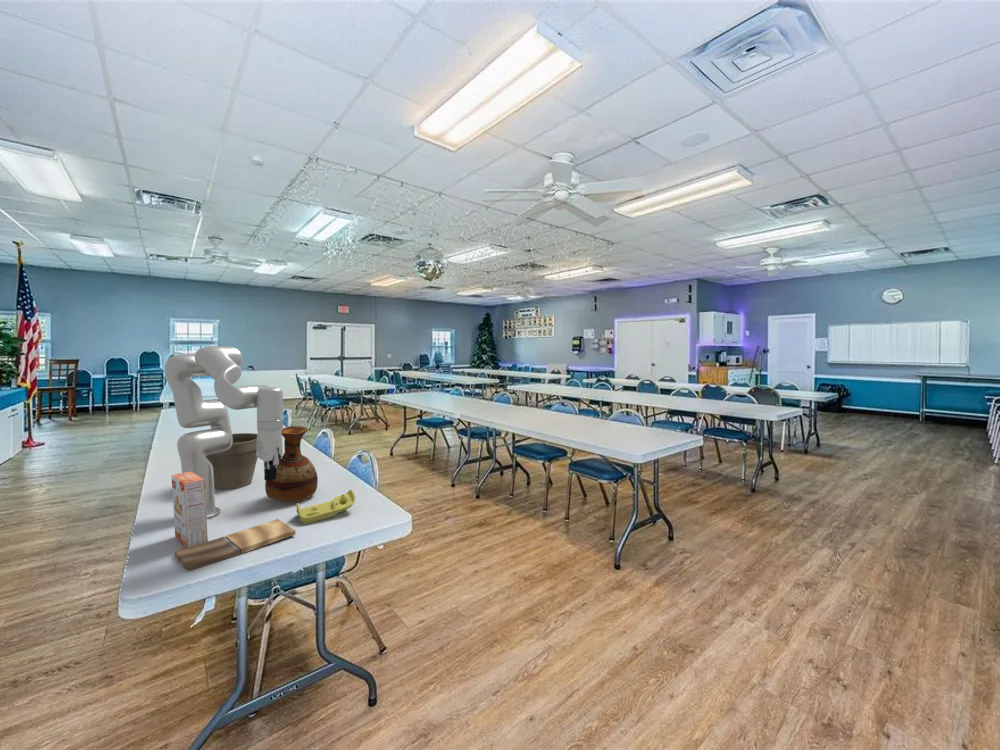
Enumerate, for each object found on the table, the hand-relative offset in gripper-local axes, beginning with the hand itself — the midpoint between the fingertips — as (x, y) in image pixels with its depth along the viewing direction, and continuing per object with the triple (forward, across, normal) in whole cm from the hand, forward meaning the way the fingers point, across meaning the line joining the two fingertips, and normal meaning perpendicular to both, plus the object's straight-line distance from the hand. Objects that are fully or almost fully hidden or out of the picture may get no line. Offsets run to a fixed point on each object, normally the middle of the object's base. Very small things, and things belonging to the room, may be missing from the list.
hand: (270, 479), depth 141 cm
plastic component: (+19, -2, +20) cm, 28 cm away
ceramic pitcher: (+20, -30, +20) cm, 41 cm away
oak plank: (+18, +1, -4) cm, 18 cm away
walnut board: (+19, +2, -18) cm, 26 cm away
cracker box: (+20, -14, -19) cm, 31 cm away
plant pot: (+21, -68, +10) cm, 72 cm away
